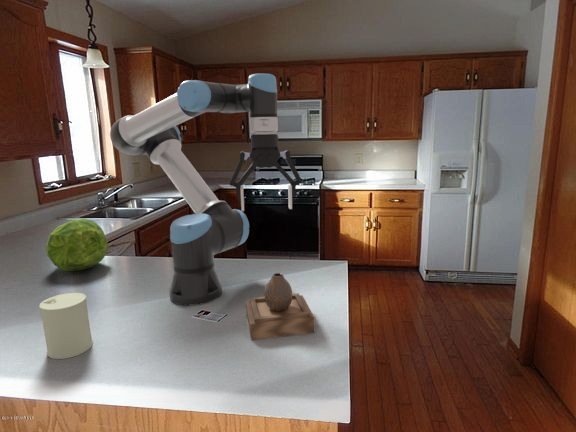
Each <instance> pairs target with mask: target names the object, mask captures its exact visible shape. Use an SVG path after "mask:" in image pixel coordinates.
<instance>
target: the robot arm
mask: <svg viewBox="0 0 576 432" xmlns="http://www.w3.org/2000/svg"><path fill="white" fill-rule="evenodd" d="M276 78H277V77H276V76H275V75H274V74H272V73H253V74H250V75H249V76H248V81H247V83H243V84H242V83H241V84H230V83H219V82H211V81H210V82H209V81H203V80H197V79H194V80H192V79H191V80H189V79H188V80H184V81H183V82H181V83H180V85H179V87H178V88H177V90H176V92H175V93H174V94H172V95H170V96H168V97H167V98H164V99H163V100H161V101H159V102H157V103H155V104H152V105H151V106H149V107H148V108H146V109H144V110H142V111H140V112H138V113H136V114H134V115H131V114H128V115H125V116H123V117H121V118H119V119H118V120H116V121H115V122H114V123H113V124H112V126H111V128H110V131H109V136H110V141H111V143H112V145H113V147H114V148H115V149H117V150H118V151H119V152H120V153H122V154H125V155H128V156H145V155H146V156H147V158H148V159H149V160H150V161H151V163H152V164H154V165H158V166H160V168H161V169H162V170H163V173H165V174H166V176H167V177H168V179H170V181H171V182H172V184H173V185H174V187H175V188H176V189H177V190H178V192H179V194H180V195H181V196H182V198H183V199H184V201H186V203H187V204H188V205H189V208H191V210H192V211H193V213H192V214H187V215H183V216H180V217H178V218H176V219H174V220H173V221H172V223H171V225H170V227H169V229H170V230H169V231H170V235H169V239H170V243H171V244H170V245H171V253H172V265H173V266H172V268H173V275H172V279H171V282H170V287H169V290H168V291H169V299H170V301H171V302H172V303H174V304H177V305H183V306H194V305H195V306H196V305H202V304H207V303H210V302H213V301H215V300H217V299H218V298H220V297H221V295H222V294H223V285H222V282H221V280H220V278H219V275H218V274H217V270H216V268H215V258H214V257H215V255H218V254H221V253H223V252H226V251H228V250H231V249H236V248H237V247H238V246H240V245H242V244H244V243H245V242H246V241H247V239H248V237H249V233H250V229H249V228H250V222H249V220H248V217H247V214H245V213H244V211H245V198H244V197H245V196H244V194H245V193H244V186H242V185H243V184H244V183H245V181H246V180H248V178H249V176H250V175H251V174H252V173H253V172H254V170H255V169H256V168H257V167H258V168H259V169H260V168H272V167H275V168H276V170H278V171H279V173H280V174H281V175H282V176H283V178H285V180H287V181H288V183H290V184H288V185H287V191H288V192H287V194H288V195H287V197H288V201H287V202H288V209H289V210H293V198H295V197H296V193H297V190H296V187H297V185H299V184H302V183H303V180H302V178H301V176H300V174H299V172H298V170H297V169H296V166H295V164H294V163H293V161H292V160H293V159H291V152H290V150H285V151H279V135H278V134H277V132H278V131H279V128H278V125H279V124H278V123H279V122H278V89H277V88H278V86H277V79H276ZM205 113H220V114H221V113H222V114H235V113H249V125H250V126H249V127H250V133H252V134H251V135H250V152H245V151H240V154H239V155H240V156H239V161H238V162H237V165H236V168H235V170H234V171H233V174H232V176H231V179H230V181H229V186H231V187H234V188H235V189H236V199H237V200H240V207H241V209H236V208H234V209H232V208H231V206H230V205H229V204H228V202H226V201H225V200H219V199H218V197H217V196H216V194H215V193H214V192H213V191H212V189H211V188H210V186H209V185H208V184H207V183H206V181H205V180H204V179H203V178H202V176H201V175H200V173H199V172H198V171H197V170H196V169H195V167H194V166H193V164H192V163H191V161H190V160H189V159H188V158H187V157H186V155H185V154H184V153H183V151H182V146H183V145H182V136H181V131H180V129H179V128H178V126H179V125H180V124H182V123H184V122H186V121H188V120H189V121H190V120H191V119H193V118H195V117H197V116H200V115H203V114H205ZM280 157H282V159H284V160H285V161H286V163H287V165H288V167H289V170H290V171H291V172H292V175H293V176H294V178H295V179H293V178H292V177H291V176H290V174H288V172H287V171H286V170H285V169H284V167H282V166H281V164H280V163H279V162H277V161H278V160H279V159H280ZM248 158H250V159H251V160H252V163H251V164H250V165H249V167H248V168H247V170H245V172H244V174H243V175H242V176H241V178H239V180H238V181H236V180H237V179H238V176H239V174H240V172H241V169H242V168H243V165H244V162H245V161H246V160H248Z"/></svg>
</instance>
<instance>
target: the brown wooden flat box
mask: <svg viewBox="0 0 576 432" xmlns="http://www.w3.org/2000/svg"><path fill="white" fill-rule="evenodd" d="M245 308H246V319H247V324H248V331H249V334H250V336H249V337H250V340H251V341H253V340H262V339H263V340H264V339H270V338H271V339H272V338H278V337H279V338H280V337H288V336H297V335H304V334H305V335H307V334H313V333H315V316H314V313H313V312H312V310H311V308H310V306H309V305H308V303H307V301H306V299H305V297H304V296H303V295H302V294H300V293H299V292H298V293H292V302H291V304H290V306H289V307H288V308H287V309H286V310H284V311H280V312H277V311H273V310H271V309H270V308H269V307H268V306H267V304H266V302H265V298H264V296H258V297H257V296H256V297H250V298H249V300H245Z"/></svg>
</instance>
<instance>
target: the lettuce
mask: <svg viewBox="0 0 576 432" xmlns="http://www.w3.org/2000/svg"><path fill="white" fill-rule="evenodd" d="M107 239H108V238H107V236H106V233H105V232H104V230H103V228H102V227H101V226H100V225H99V224H97V223H96V221H94V220H90V219H87V218H86V219H85V218H79V219H74V220H70V221H67V222H65V223H63V224H61V225H59V226H57V227H56V228H55V229H54V230H53V231H52V232H51V233H50V234H49V235H48V238H47V241H46V243H45V251H46V256H47V257H48V259H49V260H50V262H52V264H53V265H54V266H55V267H57V268H59V269H61V270H63V271H65V272H78V271H82V270H85V269H86V270H87V269H89V268H93V267H94V266H96V265H97V264H99V263H100V262H102V261H103V259H104V258H105V257H106V256H107V253H108V249H109V247H108V246H109V244H108V240H107Z"/></svg>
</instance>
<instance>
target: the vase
mask: <svg viewBox="0 0 576 432" xmlns="http://www.w3.org/2000/svg"><path fill="white" fill-rule="evenodd" d="M263 294H264V296H263V297H264V298H265V302H266V304H267V306H268V307H269V308H270V309H271V310H273V311H277V312H280V311H284V310H286V309H287V308H288V307H289V306H290V304H291V302H292V294H293V289H292V286H291V284H290V282H289V281H288V280H287V279H286V278H285V276H284V275H283V273H281V272H275V273H273V274H272V276H271V278H270V279H269V280H268V282H267V283H266V285H265V288H264V293H263Z"/></svg>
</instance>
